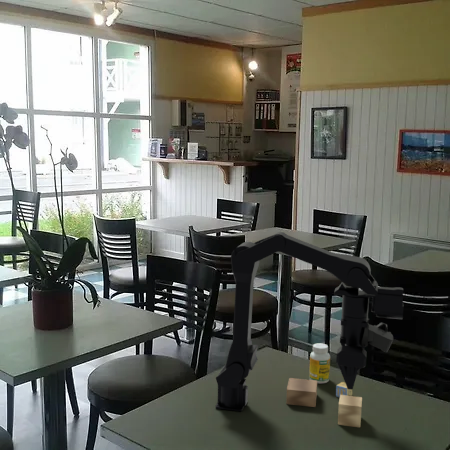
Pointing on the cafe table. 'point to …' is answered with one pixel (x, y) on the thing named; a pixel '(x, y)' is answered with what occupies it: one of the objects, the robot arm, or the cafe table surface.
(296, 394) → the walnut base block
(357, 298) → the robot arm
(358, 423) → the maple cube
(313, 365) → the supplement bottle
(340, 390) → the alphabet block
